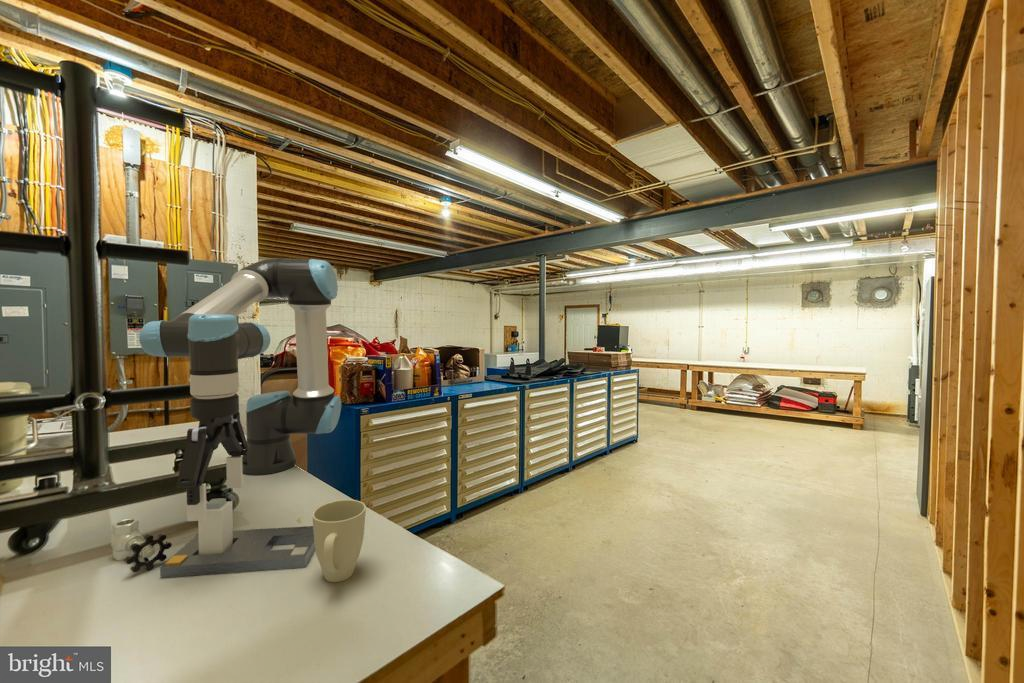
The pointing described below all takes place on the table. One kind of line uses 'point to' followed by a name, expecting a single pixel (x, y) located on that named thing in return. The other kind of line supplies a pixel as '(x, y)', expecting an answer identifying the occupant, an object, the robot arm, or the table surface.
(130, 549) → the valve
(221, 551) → the plug
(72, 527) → the table surface
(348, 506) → the mug
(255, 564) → the grey slotted tray
